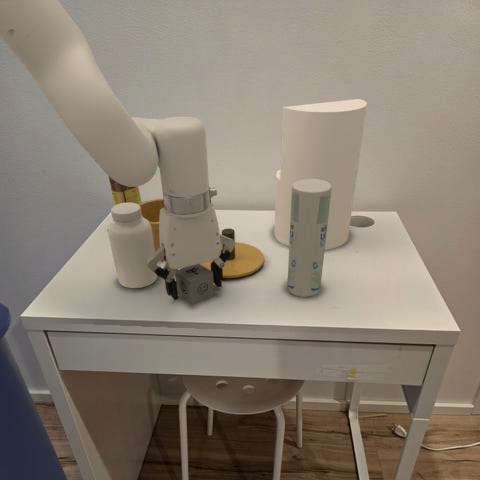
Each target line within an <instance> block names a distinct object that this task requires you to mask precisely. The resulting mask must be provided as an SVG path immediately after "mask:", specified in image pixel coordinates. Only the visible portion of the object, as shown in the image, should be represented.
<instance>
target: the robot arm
mask: <svg viewBox="0 0 480 480" xmlns="http://www.w3.org/2000/svg"><path fill="white" fill-rule="evenodd" d="M0 39H1V40H2V42H3V43H4V44H5V45H6V46H7V48H8V49H9V50H10V51H11V52H12V54H13V55H14V56H15V57H16V58H17V60H18V61H19V62H20V63H21V64H22V65H23V67H24V68H25V69H26V71H28V73H29V74H30V76H32V77H33V79H34V81H35V82H36V84H37V85H38V87H39V89H40V91H41V92H42V94H43V95H44V96H45V98H46V99H47V101H48V102H49V103H50V105H51V106H52V107H53V109H54V110H55V112H56V113H57V114H58V116H59V118H60V119H61V121H62V122H63V123H64V125H65V126H66V127H67V129H68V131H69V132H70V133H71V134H72V135H73V137H74V138H75V139H76V141H77V142H78V143H79V144H80V146H81V147H82V148H83V149H84V150H85V151H86V153H88V155H89V156H90V157H91V158H92V160H93V161H94V162H95V163H96V164H97V165H98V166H99V168H100V169H101V170H102V171H103V172H104V173H105V174H106V175H107V176H108V178H109V177H111V178H112V179H113V180H115V181H116V182H118V183H120V184H122V185H125V186H129V187H137V186H138V187H140V186H144V185H145V184H147V183H148V182H150V181H151V180H152V179H153V178H154V176H155V175H156V172H157V170H158V168H159V175H160V183H161V189H162V190H161V191H162V199H164V207H165V208H162V209H161V210H160V216H159V239H160V248H159V249H157V250H156V251H155V252H154V253H153V254H152V255H151V256H150V257H149V258H148V259H147V260H146V261H145V263H146V265H147V266H148V267H149V268H150V269H151V270H152V271H153V272H154V273H155V274H156V275H157V277H158V278H161V279H162V280H164V284H165V291H166V294H167V295H168V296H170V297H172V299H173V300H174V301H177V300H178V299H179V295H178V292H177V284H176V279H175V274H176V273H177V271H178V270H179V269H181V268H184V267H188V266H192V265H196V264H200V263H203V262H207V261H211V260H213V262H211V271H212V272H213V281H214V286H216V287H217V288H221V287H223V285H222V283H223V282H222V281H223V280H224V278H223V269H222V268H223V267H224V266H225V262H226V261H227V259H228V258H229V257H230V255H231V252H232V250H233V248H234V246H235V244H236V243H235V242H236V240H235V241H234V240H232V239H231V238H228V237H226V236H223V235H222V233H220V226H219V222H218V216H217V213H216V210H215V206H214V204H213V203H212V198H213V197H216V196H218V191H217V188H216V187H210V181H209V180H210V179H209V164H208V150H207V147H208V146H207V133H206V127H205V124H204V123H203V121H202V120H200V118H198V117H194V116H187V115H185V116H184V115H182V116H181V115H180V116H178V115H177V116H171V117H166V118H146V117H139V116H138V117H137V116H131V115H130V113H129V112H128V111H127V110H126V108H125V107H124V105H123V104H122V103H121V101H120V100H119V98H118V97H117V96H116V94H115V93H114V91H113V90H112V87H110V85H109V83H108V82H107V80H106V77H105V76H104V75H103V73H102V71H101V69H100V67H99V65H98V62H97V60H96V57H95V55H94V53H93V50H92V49H91V45H90V44H89V42H88V41H87V38H86V37H85V36H84V33H83V32H82V31H81V29H80V28H79V26H78V24H76V22H75V21H74V19H72V17H71V16H70V14H69V13H68V12H67V10H66V9H65V7H63V5H62V4H61V3H60V0H0ZM221 243H222V244H225V246H224V248H223V249H222V250H221ZM161 259H163V260H161ZM160 261H166V262H165V264H164V266H163V267H161V266H160V265H158V263H160Z"/></svg>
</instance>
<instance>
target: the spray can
mask: <svg viewBox="0 0 480 480" xmlns="http://www.w3.org/2000/svg"><path fill="white" fill-rule="evenodd" d="M331 189H332V187H331V184H330V183H328V182H327V181H324V180H319V179H302V180H298V181H296V182H294V183H293V184H292V196H291V218H290V241H289V246H288V262H287V263H288V264H287V265H288V266H287V290H288V292H289V293H290V294H292V295H294V296H297V297H302V298H309V297H313V296H316V295H317V294H318V293H319V292H320V289H321V285H322V278H323V277H322V275H323V267H324V266H323V265H324V258H325V251H326V250H325V242H326V233H327V224H328V216H329V207H330V198H331Z"/></svg>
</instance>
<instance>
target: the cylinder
mask: <svg viewBox="0 0 480 480" xmlns="http://www.w3.org/2000/svg"><path fill="white" fill-rule="evenodd" d="M367 106H368V103H367V101H365V100H363V99H360V98H355V99H345V100H336V101H327V102H317V103H307V104H298V105H288V106H283V107H282V117H281V118H282V119H281V144H280V145H281V147H280V169H278V170H277V171H276V173H275V197H274V198H275V199H274V224H273V225H274V226H273V227H274V228H273V229H274V230H273V231H274V232H273V233H274V238H275V239H276V240H277V241H278V242H279V243H281V244H282V245H284V246H287V247H289V241H290V218H291V196H292V184H293V183H294V182H296V181H298V180H302V179H319V180H324V181H327V182H328V183H330V184H331V187H332V189H331V198H330V207H329V216H328V224H327V233H326V242H325V251H328V250H333V249H336V248H339V247H341V246H342V245H344V244H345V243H346V242H347V241H348V239H349V233H350V227H351V220H352V219H351V218H352V214H353V213H352V212H353V207H354V206H353V204H354V199H355V198H354V197H355V191H356V183H357V177H358V171H359V169H358V168H359V163H360V155H361V149H362V141H363V134H364V127H365V120H366V114H367V113H366V112H367Z"/></svg>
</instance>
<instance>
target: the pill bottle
mask: <svg viewBox="0 0 480 480" xmlns="http://www.w3.org/2000/svg"><path fill="white" fill-rule="evenodd" d="M110 214H111V218H112V221H111V222H110V223H109V225H108V227H107V234H108V238H109V244H110V250H111V253H112V259H113V262H114V263H113V264H114V269H115V274H116V278H117V282H118V283H119V284H120V286H122V287H124V288H128V289H141V288H145V287H148V286H150V285H152V284H154V283H155V282H156V281H157V279H158V276H157V275H156V274H155V273H154V272H153V271H152V270H151V269H150V268H149V267H148V266H147V265H146V263H145V261H146V260H147V259H148V258H149V257H150V256H151V255H152V254H153V253H154V252H155V250H154V243H153V236H152V229H151V225H150V223H149V221H148V220H147V219H145V218H143V217H142V212H141V207H140V206H139V205H138V204H136V203H121V204H117V205H115V204H114V206H112V207H111V209H110Z"/></svg>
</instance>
